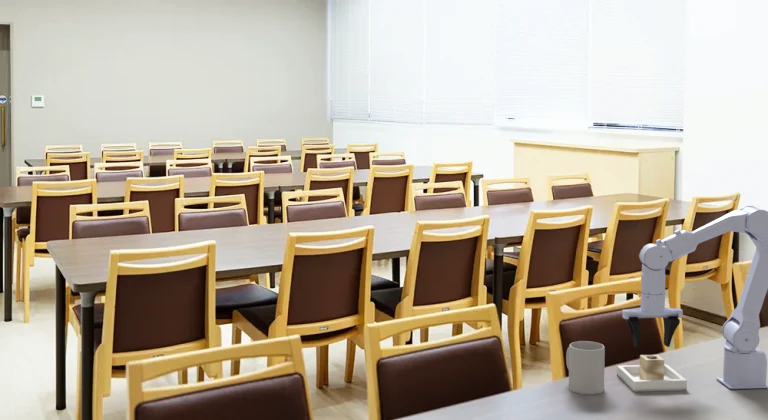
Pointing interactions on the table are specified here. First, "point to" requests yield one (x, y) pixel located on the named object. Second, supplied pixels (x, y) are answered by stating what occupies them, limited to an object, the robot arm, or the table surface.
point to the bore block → (651, 367)
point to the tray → (670, 382)
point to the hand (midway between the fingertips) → (651, 346)
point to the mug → (586, 367)
